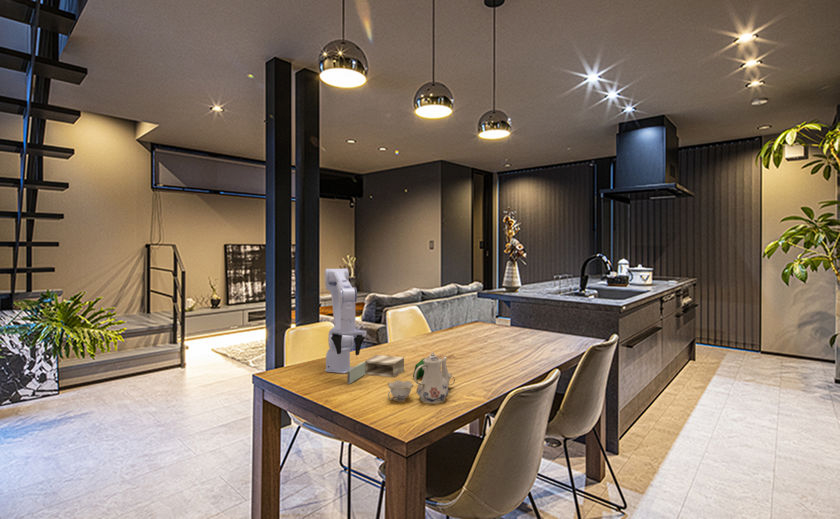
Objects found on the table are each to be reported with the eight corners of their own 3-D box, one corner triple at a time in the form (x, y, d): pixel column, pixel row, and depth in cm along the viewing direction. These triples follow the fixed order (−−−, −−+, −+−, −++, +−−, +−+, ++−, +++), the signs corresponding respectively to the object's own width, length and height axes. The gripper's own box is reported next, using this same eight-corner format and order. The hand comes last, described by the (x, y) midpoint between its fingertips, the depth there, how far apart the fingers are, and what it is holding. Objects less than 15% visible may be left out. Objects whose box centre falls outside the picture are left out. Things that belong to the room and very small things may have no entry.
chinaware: (439, 387, 157) (436, 343, 158) (473, 393, 145) (469, 345, 146) (381, 405, 138) (377, 355, 139) (414, 415, 126) (410, 360, 127)
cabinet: (365, 374, 168) (365, 360, 168) (375, 367, 177) (375, 354, 177) (394, 377, 164) (394, 363, 163) (404, 370, 173) (404, 357, 173)
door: (364, 373, 168) (364, 361, 168) (365, 373, 167) (365, 361, 167) (347, 383, 155) (347, 370, 155) (349, 384, 155) (349, 370, 154)
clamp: (425, 390, 161) (428, 372, 157) (411, 385, 163) (413, 367, 159) (436, 371, 172) (438, 354, 167) (422, 366, 173) (425, 349, 169)
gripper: (325, 320, 157) (326, 355, 157) (361, 321, 153) (361, 357, 153) (334, 317, 164) (334, 351, 164) (368, 318, 160) (368, 353, 160)
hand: (348, 354), depth 159 cm, fingers open, 7 cm apart
